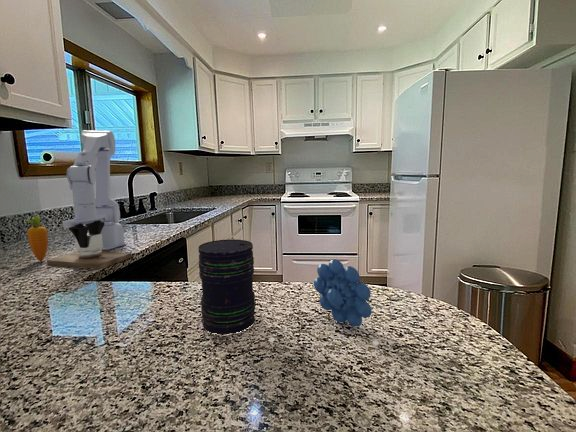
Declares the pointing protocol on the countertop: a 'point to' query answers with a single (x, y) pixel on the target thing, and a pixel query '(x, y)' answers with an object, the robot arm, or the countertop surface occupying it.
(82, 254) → the cap
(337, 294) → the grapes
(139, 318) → the countertop surface
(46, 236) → the carrot
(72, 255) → the lock board
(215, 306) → the dark blue cylinder
